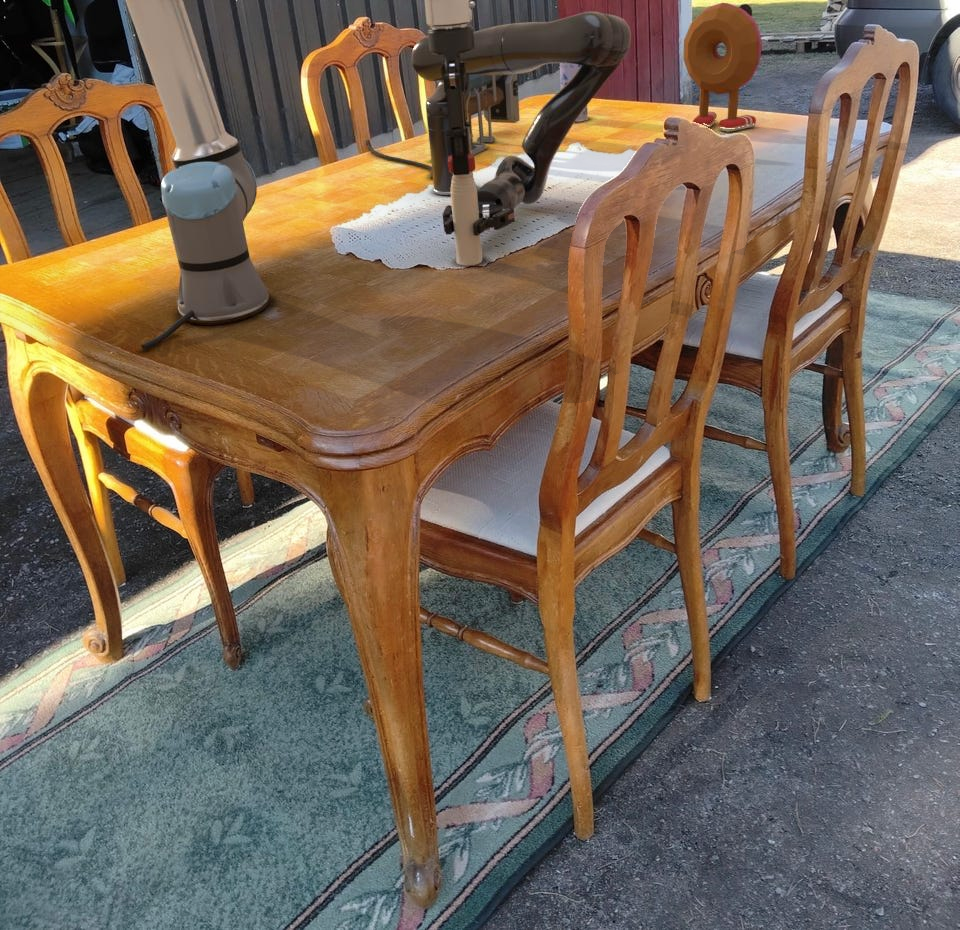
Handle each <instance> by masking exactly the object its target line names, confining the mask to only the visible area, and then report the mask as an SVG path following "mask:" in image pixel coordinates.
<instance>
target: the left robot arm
mask: <svg viewBox="0 0 960 930" xmlns="http://www.w3.org/2000/svg"><path fill="white" fill-rule="evenodd" d="M124 1H125V3H126V6H127V9H128V12H129V15H130V18H131V20H132V23H133V26H134V29H135V32H136V34H137V38H138V40H139V43H140V46H141V48H142V51H143V54H144V57H145V60H146V63H147V65H148V68H149V72H150V74H151V77H152V79H153V82H154V84H155V85H154V86H155V88H156V91H157V94H158V97H159V99H160V102H161V105H162V108H163V110H164V114H165V116H166V119H167V123H168V125H169V127H170V131H171V134H172V136H173V138H174V142H175V144H176V145H175V149H174V151H173V153H172V155H171V160H172V163H173V165H174V168H173V169H172V170H170V171H169V172H167V173H166V174H165V175H164V176H163V178H162V180H161V182H160V191H161V200H162V205H163V207H164V209H165V214H166V217H167V221H168V226H169V230H170V234H171V238H172V241H173V247H174V250H175V254H176V258H177V262H178V266H179V283H178V294H177V310H178V314H179V318H178V320H176V321H175V322H174V323H173V324H171V326H169V327H168V328H167V329H166V330H165V331H164V332H162V333H161V334H159V335H158V336H156V337H155V338H152V339H150V340H148V341H145V342H144V343H142V344H140V345H141V346H140V347H141V349H142V350H143V351H146V350H148V349H151V348H153V347H156V346H157V345H158V344H160V343H162V342H164V341H165V340H167V338H169V337H170V336H172V335H173V333H174V332H176V331H177V330H178V329H179V328H180V327H181V326H183V325H184V324H185V323H189V324H193V325H202V326H203V325H204V326H205V325H206V326H210V325H222V324H230V323H233V322H239V321H241V320H245V319H248V318H251V317H253V316H256V315H258V314H260V312H263V311H264V310H265V309H266V308H267V307H268V306H269V305H270V296H269V292H268V290H267V287H266V284H265V283H264V282H263V280H262V278H261V276H260V274H259V272H258V270H257V269H256V267H255V265H254V264H253V262H252V260H251V257H250V251H249V246H248V241H247V236H246V232H245V227H244V222H245V220H246V217H247V216H248V215H249V213H250V212H251V210H252V209H253V207H254V205H255V203H256V199H257V194H258V191H257V190H258V185H257V178H256V174H255V172H254V169H253V168H252V167H251V164H250V163H249V161H247V160H246V159H245V158H244V155H243V151H242V150H241V146H240V142H239V141H238V139H237V138H236V137H235V136H233V135H231V134H229V133H228V132H227V131H226V128H225V125H224V122H223V120H222V116H221V113H220V110H219V106H218V104H217V102H216V98H215V94H214V92H213V89H212V86H211V82H210V80H209V77H208V74H207V71H206V68H205V65H204V61H203V59H202V55H201V52H200V50H199V46H198V43H197V40H196V37H195V34H194V31H193V28H192V24H191V21H190V18H189V15H188V12H187V9H186V7H185V3H184V0H124ZM375 1H378V2H383V1H385V0H375ZM423 2H424V12H425V23H426V25H427V26H428V27H429V29H428V31H427V36H428V42H429V51H430V52H431V53H432V54H436V55H441V54H443V55H445V64H442V66H441V73H442V76H443V80H444V91H445V93H446V96H447V107H448V119H449V133H446V137H450V140H451V151H452V163H453V174H454V175H467V174H469V163H468V153H469V144H468V132H467V128H465V127H471V125H472V122H471V123H470V122H466V120H467V116H466V108H465V95H464V92H465V87H466V82H465V73H466V65H465V62H462V61H461V59H460V53H466V52H469V51H472V50H473V49H474V32H475V31H474V27H473V26H472V24H470V23H471V22H472V21H473V11H472V9H475V8H476V2H475V1H470V0H423Z"/></svg>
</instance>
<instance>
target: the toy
mask: <svg viewBox="0 0 960 930" xmlns="http://www.w3.org/2000/svg"><path fill="white" fill-rule="evenodd" d="M752 16H753V10H752V7H751V5H749V4H747V3H743V4H741V5H740V6H737V5H734V4H731V3H728V2H719V3H716V4H714V5H710V6H708V7H706V8H705V9H703V11H702V12H700V14H698V15H697V16H696V17H695V18H694V19H693V20H692V22H691V23H690V25H689V27H688V29H687V32H686V34H685V37H684V39H683V56H682V58H683V59H682V60H683V62H684V65H685V68H686V71H687V74H688V76H689V77H690V78H691V79H692V81H693V82H694V83H695V84H696V85H697V86H698V88H699V97H698V98H699V99H698V103H699V106H698V109H699V110H698V114H697V116H696V117H695V118H693V120H692V123H693V122H696V123H699V124H702V125H704V124H703V123H705V124H707V125H710V126H707V125H704V126H706V127H709V128H708V129H710V128H711V127H712V126H713V125H714V124H715V123H716V122H717V119H716V118H717V117H718V116H717V113H716V112H714V111H709V107H710V92H711V93H713V94H716V95H725V94H728V104H727V118H723V119H721V120H719V122H718V130H720V131H723V132H727V133H731V132H735V131H739V130H744V129H749V128H755V127H756V124H757V118H756V117H755V116H754V115H749V114H744V115H738V107H739V94H740V93H739V91H740V88H742V87H743V86H745V85H747V84H748V83H749V82H750V81H751V79H752V78H753V77H754V76H755V73H756V71H757V69H758V68H759V65H760V61H761V58H762V48H763V42H762V36H761V33H760V30H759V26H758V24H757V22H756V21H755V18H753V17H752ZM721 44H723V45H724V46H725V54H724V55H720V54H719V52H718V47H719V45H721ZM715 119H716V120H715ZM753 124H754V125H753ZM747 125H749V126H747ZM742 126H744V127H742ZM720 127H725V128H735V129H723V128H720ZM738 127H740V128H738ZM730 131H731V132H730Z"/></svg>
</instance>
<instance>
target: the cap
mask: <svg viewBox="0 0 960 930" xmlns="http://www.w3.org/2000/svg"><path fill="white" fill-rule="evenodd" d="M475 159H476V158H475V155H473V154H469V153H468V163H469V172H472V171H473V172H474V171H475V170H476V160H475ZM448 169H449V172H450V173H453V163H452V155H451V156H449V157H448Z"/></svg>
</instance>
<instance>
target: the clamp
mask: <svg viewBox="0 0 960 930" xmlns="http://www.w3.org/2000/svg"><path fill="white" fill-rule="evenodd" d="M518 82H519V81H518V74H508V75H470V93H474V94H470V97H469V101H468V115H469V122H470V123H471V127H470V140H471V153H472V154H473V155H474V156H475V155H477V154H479V153H481V152H483V151H485V150H486V149H487V147H486V146H487V145H486V143H493V142H495V141H496V140H497V139H496V137H495V136H493V133H492V123H499V124H500V123H502V124H504V123H505V124H517V123H518V122H520V120H521V119H520V101H519V100H520V99H519V83H518ZM482 112H483V114H482ZM474 115H477V120H478V134H479V136H477V139H476V141H474V140H473V138H474V134H473V129H472V128H473V127H472V116H474ZM483 117H484V119H485V120H486V121H487V127H488V136H487V135H484V125H483V124H484V123H483Z"/></svg>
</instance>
